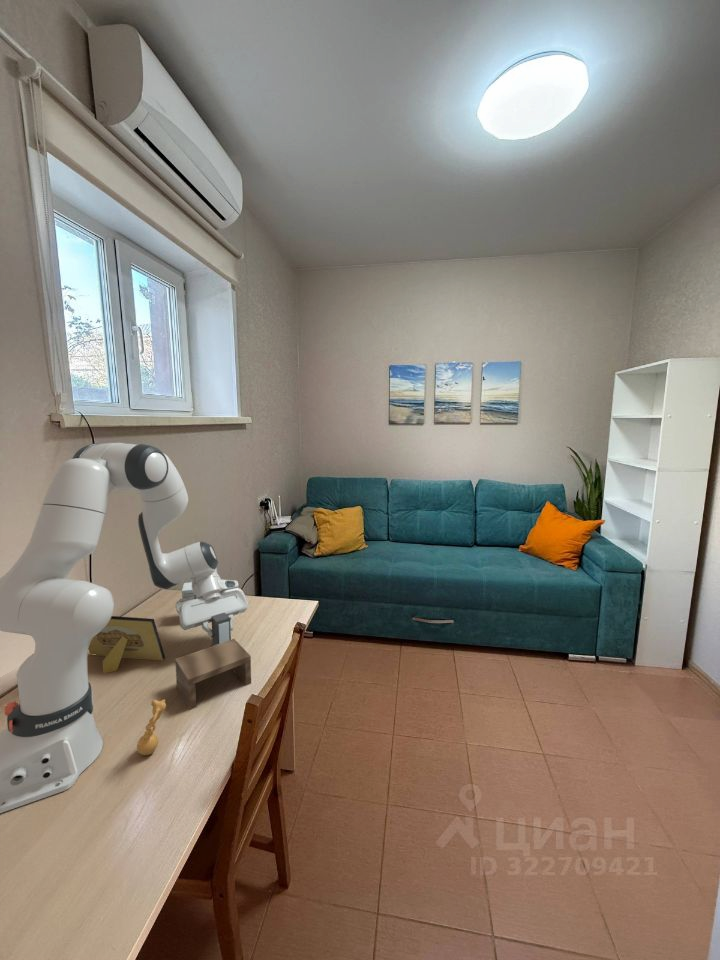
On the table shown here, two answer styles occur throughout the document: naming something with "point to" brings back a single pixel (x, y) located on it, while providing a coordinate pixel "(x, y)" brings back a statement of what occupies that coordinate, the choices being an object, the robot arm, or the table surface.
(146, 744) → the figurine
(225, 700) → the table surface
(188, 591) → the supplement box
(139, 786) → the table surface
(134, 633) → the picture frame
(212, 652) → the walnut shelf
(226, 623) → the tall grey pillar block
